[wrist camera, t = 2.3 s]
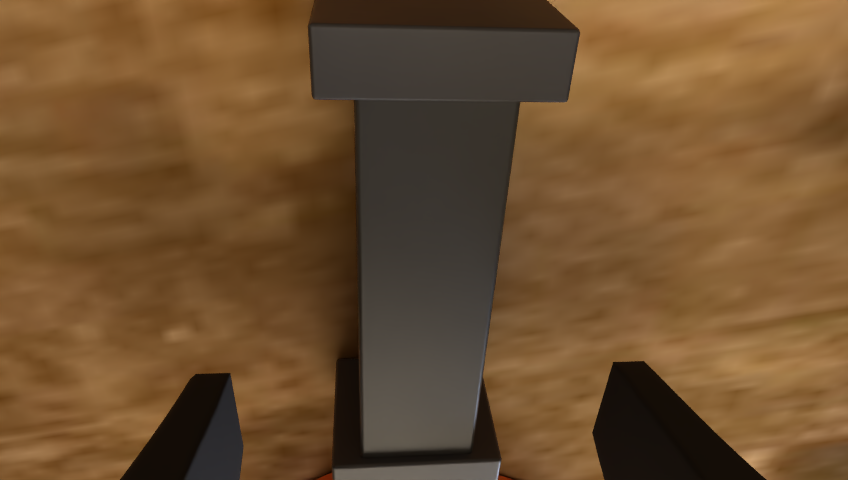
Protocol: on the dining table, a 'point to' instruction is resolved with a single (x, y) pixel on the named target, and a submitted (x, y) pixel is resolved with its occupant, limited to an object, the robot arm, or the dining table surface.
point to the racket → (429, 215)
